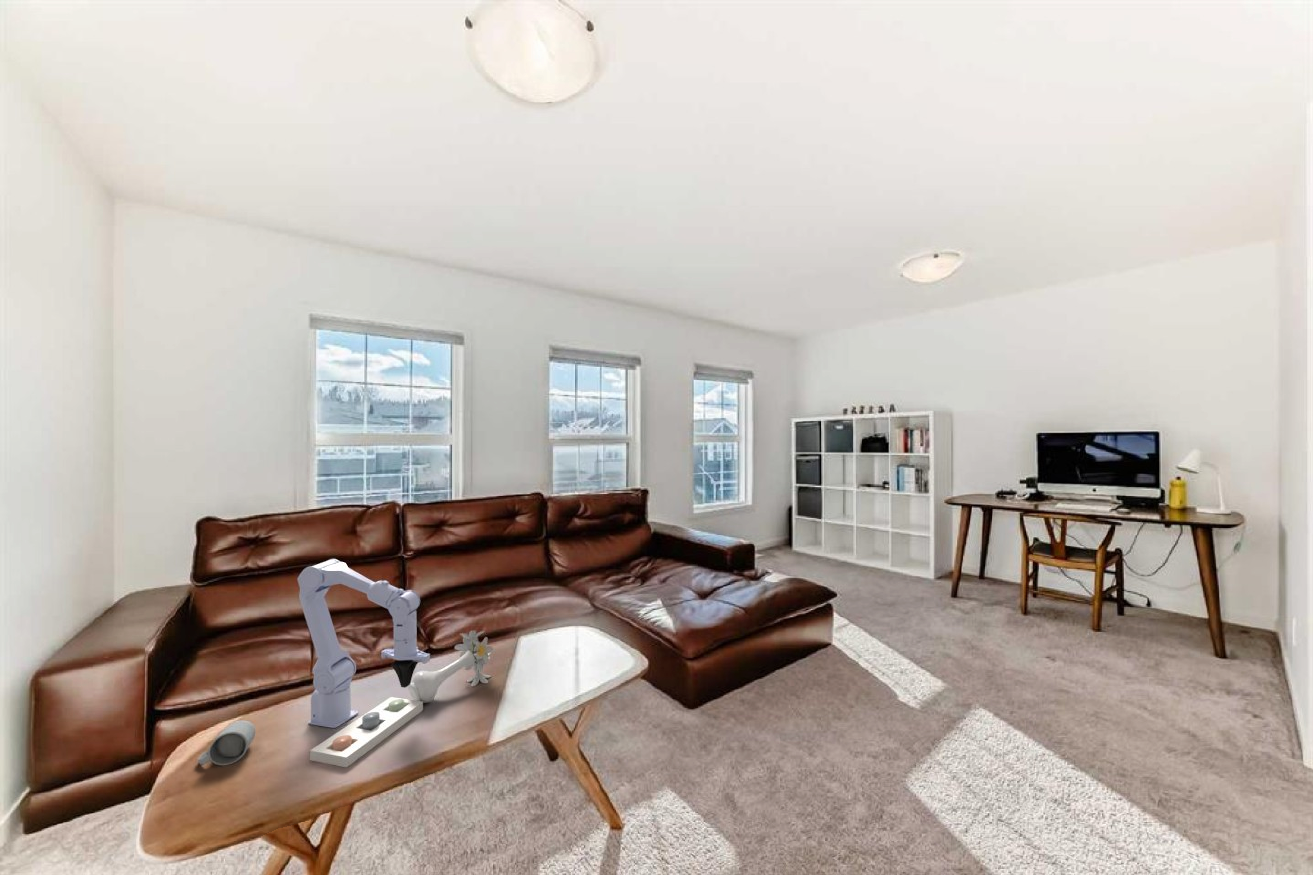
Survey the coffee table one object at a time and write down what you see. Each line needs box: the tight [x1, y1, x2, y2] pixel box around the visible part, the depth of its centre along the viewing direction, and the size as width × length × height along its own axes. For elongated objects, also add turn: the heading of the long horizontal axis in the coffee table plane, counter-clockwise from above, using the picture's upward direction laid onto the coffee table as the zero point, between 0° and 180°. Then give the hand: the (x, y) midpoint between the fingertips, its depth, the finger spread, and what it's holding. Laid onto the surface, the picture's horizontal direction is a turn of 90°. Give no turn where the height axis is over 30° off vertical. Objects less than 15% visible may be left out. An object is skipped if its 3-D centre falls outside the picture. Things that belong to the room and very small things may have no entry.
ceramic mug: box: [197, 719, 256, 766], centre depth 126 cm, size 11×8×8 cm
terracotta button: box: [333, 735, 352, 752], centre depth 126 cm, size 4×4×3 cm
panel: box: [309, 696, 424, 768], centre depth 135 cm, size 11×26×2 cm, turn 165°
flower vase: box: [407, 630, 494, 704], centre depth 158 cm, size 13×18×25 cm
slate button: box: [361, 712, 380, 731], centre depth 135 cm, size 4×4×3 cm
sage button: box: [388, 698, 404, 712], centre depth 144 cm, size 4×4×3 cm
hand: (405, 685), depth 141 cm, fingers closed
